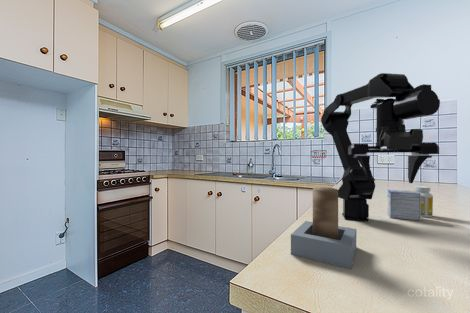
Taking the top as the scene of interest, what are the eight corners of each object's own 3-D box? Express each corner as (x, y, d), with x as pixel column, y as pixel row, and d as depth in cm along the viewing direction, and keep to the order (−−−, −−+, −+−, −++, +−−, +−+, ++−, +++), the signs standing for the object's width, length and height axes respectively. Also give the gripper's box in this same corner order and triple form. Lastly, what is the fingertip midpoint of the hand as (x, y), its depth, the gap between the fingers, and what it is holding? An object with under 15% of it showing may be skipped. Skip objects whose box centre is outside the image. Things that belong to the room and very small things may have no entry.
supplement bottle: (416, 216, 72) (416, 187, 72) (408, 212, 77) (408, 185, 77) (436, 218, 71) (436, 188, 71) (427, 214, 76) (427, 185, 76)
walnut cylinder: (308, 250, 47) (308, 189, 47) (319, 243, 51) (319, 186, 50) (332, 258, 44) (332, 192, 43) (342, 250, 47) (342, 189, 47)
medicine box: (416, 217, 72) (416, 190, 72) (421, 221, 68) (421, 192, 68) (387, 214, 75) (387, 189, 75) (390, 218, 71) (390, 191, 71)
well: (351, 268, 39) (351, 246, 39) (290, 253, 45) (290, 234, 45) (356, 247, 49) (356, 228, 49) (305, 237, 55) (305, 220, 55)
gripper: (355, 119, 53) (355, 184, 53) (453, 114, 47) (453, 188, 47) (347, 125, 64) (347, 180, 64) (427, 122, 58) (427, 182, 58)
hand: (389, 182), depth 58 cm, fingers open, 9 cm apart
